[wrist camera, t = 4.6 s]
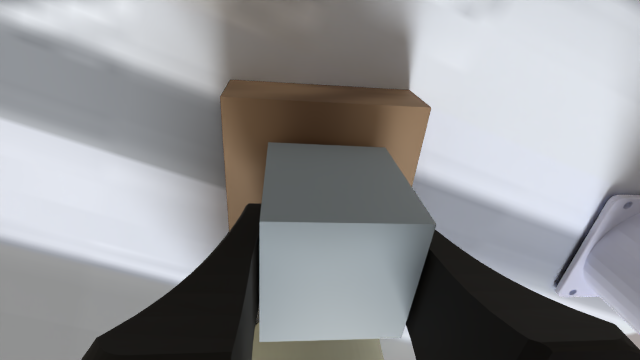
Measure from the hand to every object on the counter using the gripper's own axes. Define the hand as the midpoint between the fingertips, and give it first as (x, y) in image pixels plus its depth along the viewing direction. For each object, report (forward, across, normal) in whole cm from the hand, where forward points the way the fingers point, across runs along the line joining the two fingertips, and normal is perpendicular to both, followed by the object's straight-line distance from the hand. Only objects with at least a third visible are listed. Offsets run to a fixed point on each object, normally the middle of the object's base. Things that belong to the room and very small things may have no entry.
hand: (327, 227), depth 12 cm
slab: (+5, 0, 0) cm, 5 cm away
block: (+2, 0, 0) cm, 2 cm away
